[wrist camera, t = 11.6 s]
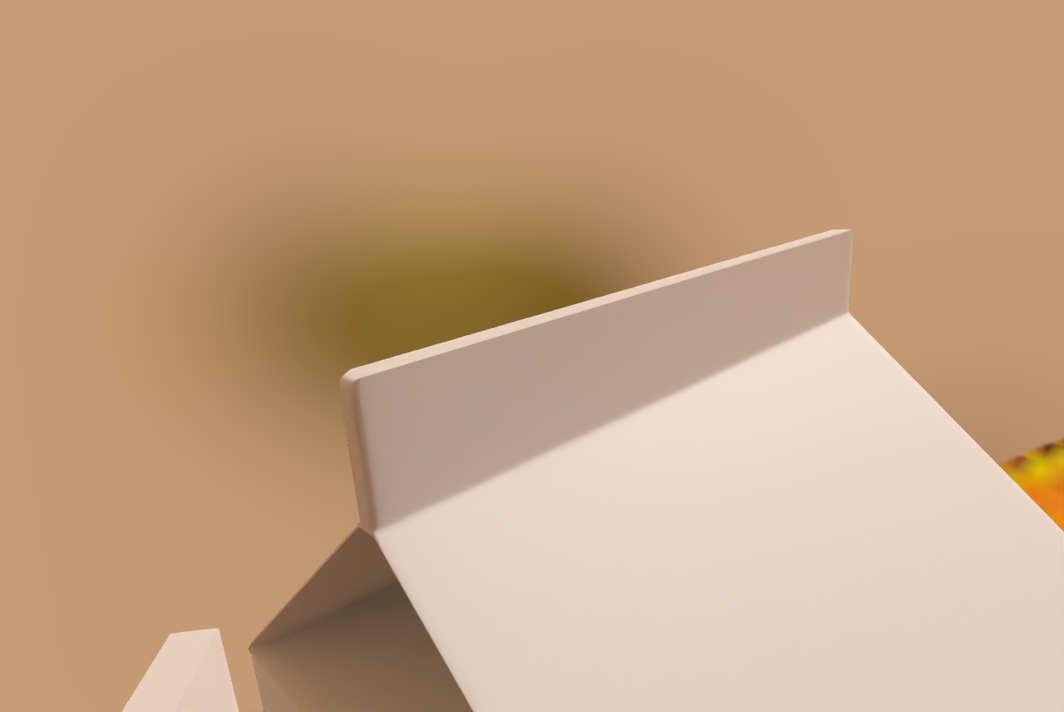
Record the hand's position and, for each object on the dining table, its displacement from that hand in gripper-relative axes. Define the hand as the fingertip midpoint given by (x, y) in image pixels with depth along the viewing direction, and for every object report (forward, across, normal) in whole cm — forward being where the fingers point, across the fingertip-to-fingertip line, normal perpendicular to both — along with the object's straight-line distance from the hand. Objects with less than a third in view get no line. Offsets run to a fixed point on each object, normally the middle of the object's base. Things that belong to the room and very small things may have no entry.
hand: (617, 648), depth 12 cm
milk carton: (-3, 0, -12) cm, 13 cm away
